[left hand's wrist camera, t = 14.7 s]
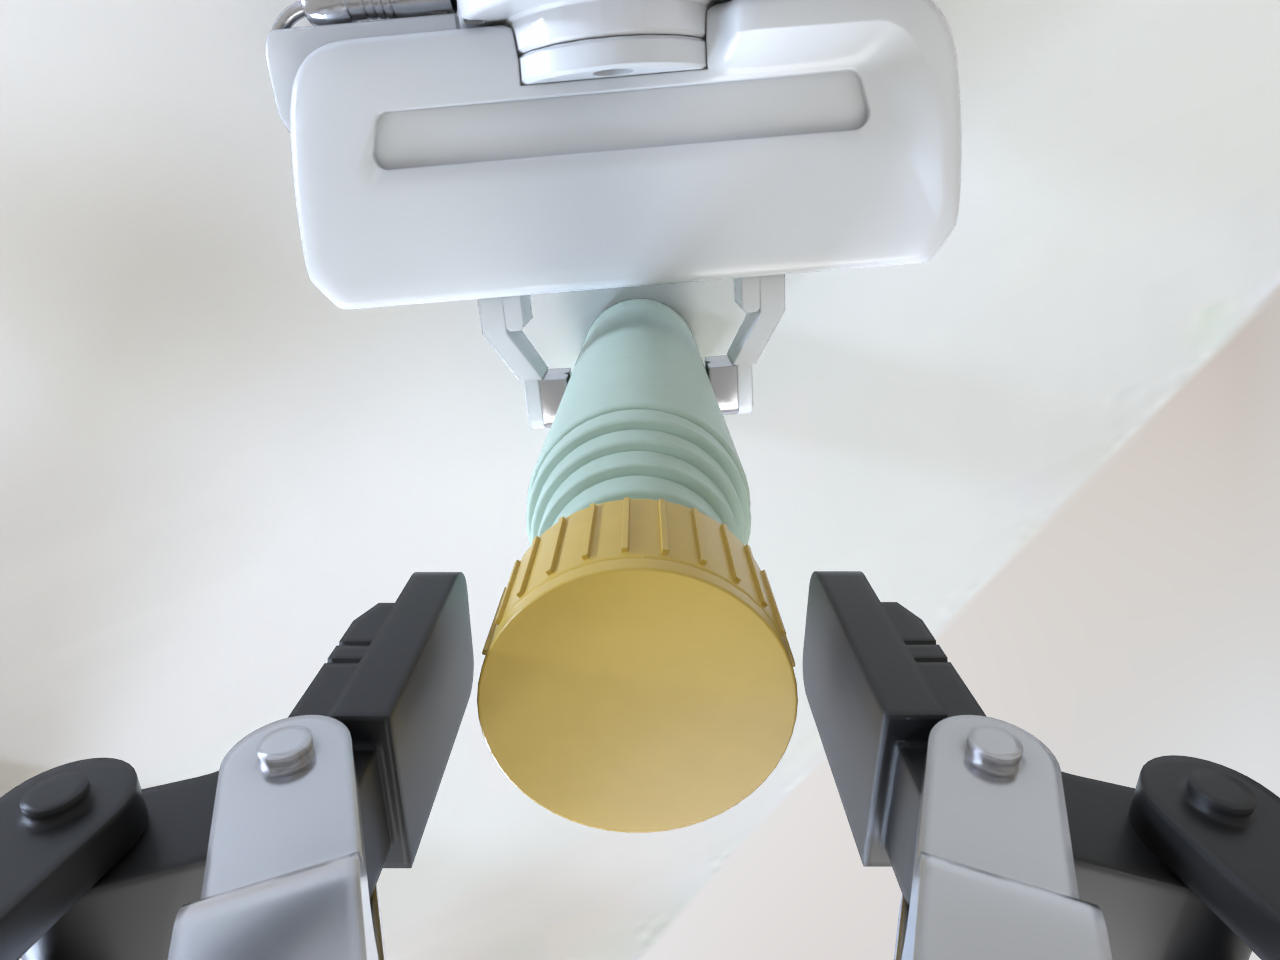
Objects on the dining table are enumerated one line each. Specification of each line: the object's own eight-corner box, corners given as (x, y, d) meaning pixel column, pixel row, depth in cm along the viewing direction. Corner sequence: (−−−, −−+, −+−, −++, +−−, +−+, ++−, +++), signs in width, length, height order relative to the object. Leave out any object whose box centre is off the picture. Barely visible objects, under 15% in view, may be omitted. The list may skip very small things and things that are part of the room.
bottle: (704, 399, 33) (832, 800, 11) (596, 419, 33) (512, 849, 11) (685, 287, 31) (790, 500, 9) (571, 311, 31) (415, 569, 10)
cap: (789, 705, 13) (820, 811, 10) (539, 745, 13) (518, 856, 11) (753, 469, 11) (780, 535, 9) (470, 521, 11) (430, 597, 9)
